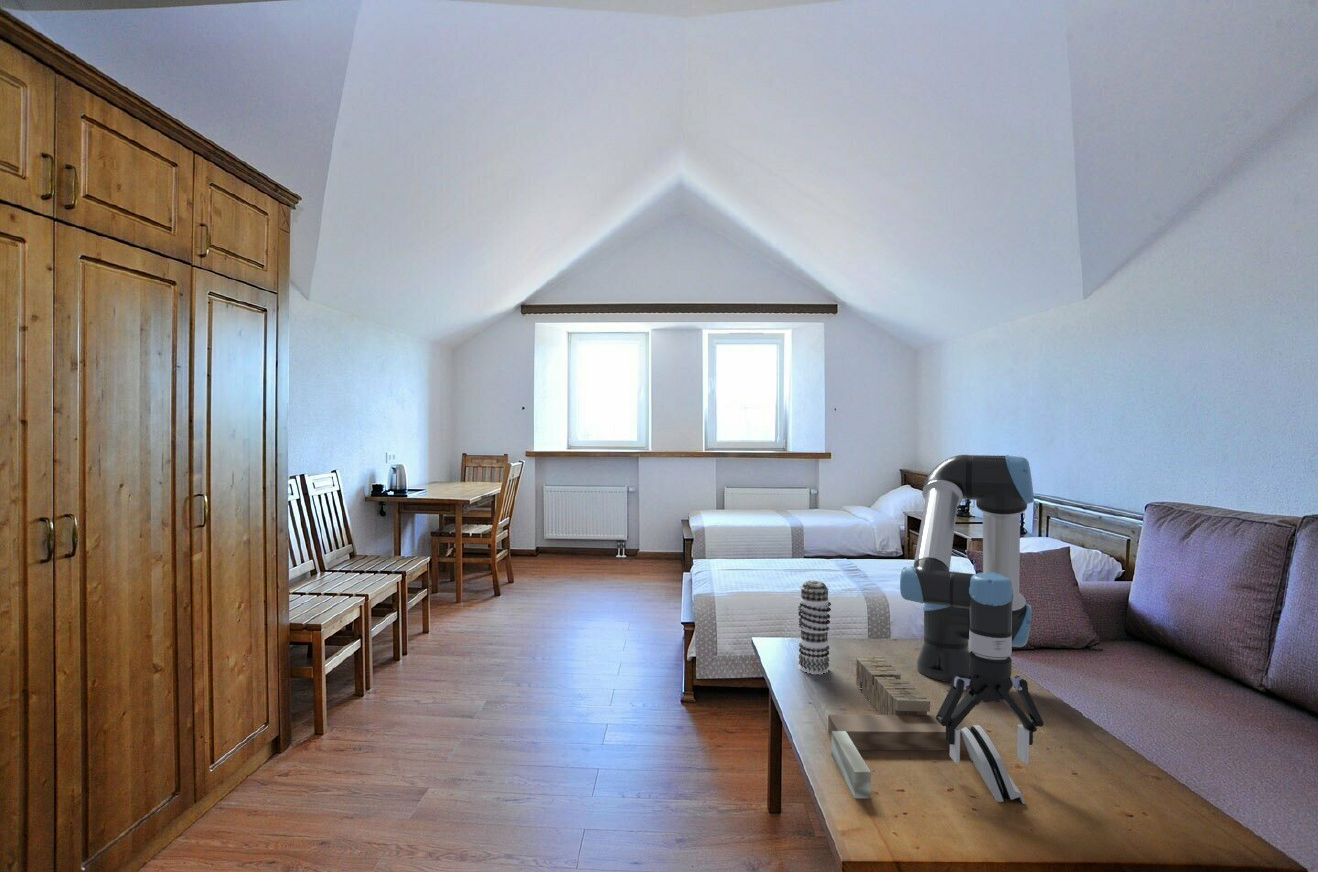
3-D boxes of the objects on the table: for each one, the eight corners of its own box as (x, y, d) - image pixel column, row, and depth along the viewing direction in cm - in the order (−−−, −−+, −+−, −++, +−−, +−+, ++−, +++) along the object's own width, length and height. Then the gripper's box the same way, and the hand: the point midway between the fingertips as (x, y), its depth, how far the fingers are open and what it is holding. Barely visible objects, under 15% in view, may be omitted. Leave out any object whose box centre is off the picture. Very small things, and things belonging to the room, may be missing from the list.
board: (959, 732, 145) (959, 711, 144) (1025, 799, 119) (1025, 773, 118) (819, 732, 145) (819, 710, 145) (854, 798, 119) (854, 772, 119)
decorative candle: (834, 675, 178) (835, 586, 178) (801, 675, 178) (802, 586, 178) (826, 663, 187) (826, 579, 187) (794, 662, 187) (795, 578, 187)
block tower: (854, 687, 173) (896, 735, 144) (854, 656, 173) (895, 698, 144) (883, 687, 173) (930, 735, 144) (882, 655, 173) (930, 697, 144)
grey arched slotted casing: (1026, 805, 117) (1007, 752, 117) (1000, 811, 118) (981, 759, 118) (994, 758, 133) (978, 712, 134) (972, 764, 134) (955, 718, 135)
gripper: (935, 660, 122) (934, 769, 122) (1064, 661, 122) (1063, 770, 122) (919, 646, 130) (918, 750, 130) (1041, 647, 130) (1040, 751, 130)
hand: (988, 760), depth 126 cm, fingers open, 13 cm apart
